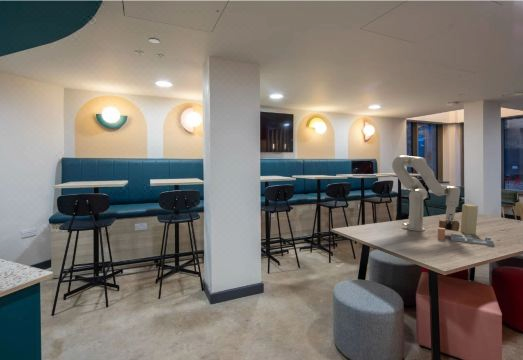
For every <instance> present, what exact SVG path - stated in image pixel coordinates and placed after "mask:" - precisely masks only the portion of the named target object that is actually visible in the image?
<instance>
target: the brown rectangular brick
mask: <svg viewBox="0 0 523 360" xmlns="http://www.w3.org/2000/svg"><path fill="white" fill-rule="evenodd" d="M445 236H446V230H445V228H439V226H438V227H437V239H439V240H445V239H446V237H445Z"/></svg>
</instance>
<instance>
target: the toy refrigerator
mask: <svg viewBox="0 0 523 360" xmlns="http://www.w3.org/2000/svg"><path fill="white" fill-rule="evenodd" d="M461 206H462V207H461V219H460V220H461V221H460V232H461V233H463V234H465V235H476V234H477V223H478V209H479V207H478V205H475V204H471V203H463V204H462V205H461Z"/></svg>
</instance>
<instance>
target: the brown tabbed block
mask: <svg viewBox="0 0 523 360" xmlns="http://www.w3.org/2000/svg"><path fill="white" fill-rule="evenodd" d="M438 221H439V222H438V227H439V228H445V231H453V232H459V231H460V226H461V222H460V221H459V220H458V219H457V220H456V219H454V220H452V229H451V230H450V229H446V226H447V222H448V220H447V219H440V218H439V220H438Z"/></svg>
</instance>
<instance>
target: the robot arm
mask: <svg viewBox="0 0 523 360" xmlns="http://www.w3.org/2000/svg"><path fill="white" fill-rule="evenodd" d="M391 166H392V170H393V172H394V174H395V176H396V177H397V178H398V180H399V181H400V183H401V185H402V186H403V187H404V188H405V189H406V190H410V192H409V195H408V199H409V201H408V203H409V205H408V206H409V210H408V211H409V214H408V222H402V226H405V227H406V229H407V230H409V231H415V232H424V231H425V230H426V228H424V226H423V225H424V200H425V199H426V198H427V197H428V192H427V189H426V188H425V187H424V186H423V183H421V181H420V180H419V179H418V178H417V177H416V176H412V175H411V174H410V173H409V171H408V170H407V168H405V167H410V168H413V169H414V170H415V171H416V172H417V173H418V175H420V177H421V178H422V180H423V182H424V183H425V185H426V186H427V188H428V189H429V190H430V191H431V192H432V194H433V195H434V196H439V197H441V196H446V198H445V199H446V200H445V206H446V208H445V209H446V211H445V219H444V220H448V222H447V226H446V229H450V230H449V231H452V230H451V229H452V221H454V220H455V215H456V209H457V208H458V207H459V203H460V196H461V195H460V194H461V188H460V187H459V186H453V185H445V184H441V183H440V182H439V181H438V180H437V179H436V176H435V171H434V170H432V168H431V167H430V166H429V165H428V164H427V160H426V159H425V158H424V157H421V156H412V155H411V156H409V155H398V156H396V157H395V158H394V159H393V161H392V163H391Z"/></svg>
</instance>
